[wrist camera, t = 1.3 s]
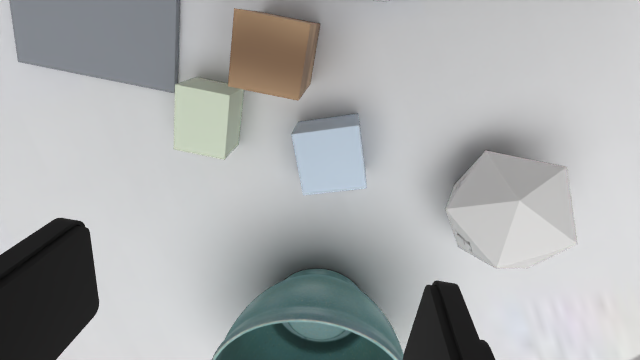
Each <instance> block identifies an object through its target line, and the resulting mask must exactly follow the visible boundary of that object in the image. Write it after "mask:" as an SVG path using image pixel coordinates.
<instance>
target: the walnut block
mask: <svg viewBox="0 0 640 360" xmlns="http://www.w3.org/2000/svg"><path fill="white" fill-rule="evenodd" d="M319 29H320V24H318V23H313V22H308V21H303V20H298V19H293V18H288V17H283V16H278V15H273V14H268V13H263V12H257V11H250V10H242V9H235V8H234V18H233V31H232V43H231V55H230V67H229V80H228V87H233V88H238V89H243V90H248V91H253V92H258V93H263V94H268V95H273V96H278V97H283V98H288V99H293V100H299V99H300V98H301V96H302V95H303V93H304V92H305V91H306V89H307V88H308V86H309V85H310V82H311V76H312V70H313V65H314V59H315V53H316V47H317V41H318V35H319Z"/></svg>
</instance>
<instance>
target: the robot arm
mask: <svg viewBox="0 0 640 360" xmlns="http://www.w3.org/2000/svg"><path fill="white" fill-rule="evenodd" d="M98 307H99V298H98V291H97V283H96V275H95V268H94V260H93V253H92V245H91V238H90V232H89V229H88V228H86V227H85V225H84V223H83V222H81V221H77V220H71V219H65V218H57V219H54V220H53V221H51V222H50V223H48V224H47V225H45V226H44V227H42V228H41V229H39V230H38V231H36V232H34V233H33V234H31V235H30V236H28V237H27V238H25V239H24V240H22V241H21V242H19V243H18V244H16V245H15V246H13V247H12V248H10V249H9V250H7V251H6V252H4V253H3V254H1V255H0V360H56V359H57V358H58V357H59V356H60V354H61V353H62V352H63V351H64V350H65V349H66V348H67V346H68V345H69V344H70V343H71V342H72V341H73V340H74V339H75V337H76V336H77V335H78V334H79V333H80V332H81V331H82V329H83V328H84V327H85V326H86V325H87V324H88V323H89V322H90V320H91V319H92V318H93V317H94V316H95V314H96V312H97V310H98ZM403 360H495V358H494V356H493V353H492V351H491V348H490V347H489V345H488V343H487V342H485V341H484V340H480V339H479V337H478V334H477V332H476V329H475V327H474V324H473V321H472V319H471V316H470V314H469V311H468V309H467V306H466V304H465V301H464V299H463V296H462V294H461V291H460V289H459V287H458V285H457V284H454V283H448V282H442V281H434V282H433V284H432V285H426V287H425V289H424V292H423V296H422V299H421V302H420V305H419V308H418V311H417V314H416V317H415V321H414V324H413V327H412V330H411V333H410V336H409V339H408V343H407V346H406V349H405V352H404V355H403Z"/></svg>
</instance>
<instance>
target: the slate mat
mask: <svg viewBox="0 0 640 360" xmlns="http://www.w3.org/2000/svg"><path fill="white" fill-rule="evenodd" d="M9 1H10V8H11V15H12V22H13V30H14V37H15V44H16V51H17V58H18V62H22V63H27V64H32V65H37V66H41V67H46V68H51V69H56V70H61V71H66V72H71V73H76V74H81V75H86V76H91V77H96V78H101V79H106V80H111V81H116V82H121V83H126V84H131V85H136V86H141V87H146V88H151V89H156V90H161V91H166V92H171V93H175V84H178V52H179V14H180V0H9Z"/></svg>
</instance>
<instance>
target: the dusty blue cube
mask: <svg viewBox="0 0 640 360" xmlns="http://www.w3.org/2000/svg"><path fill="white" fill-rule="evenodd" d="M291 135H292V140H293V145H294V151H295V156H296V161H297V166H298V171H299V176H300V181H301V186H302V192H303V195H311V194H320V193H329V192H338V191H347V190H356V189H365V188H367V186H366V174H365V164H364V156H363V148H362V140H361V132H360V124H359V115H358V114H351V115H344V116H336V117H329V118H322V119H315V120H308V121H301V122H298V124H297V125H296V127H295V129H294V131H293V132H292V134H291Z"/></svg>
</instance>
